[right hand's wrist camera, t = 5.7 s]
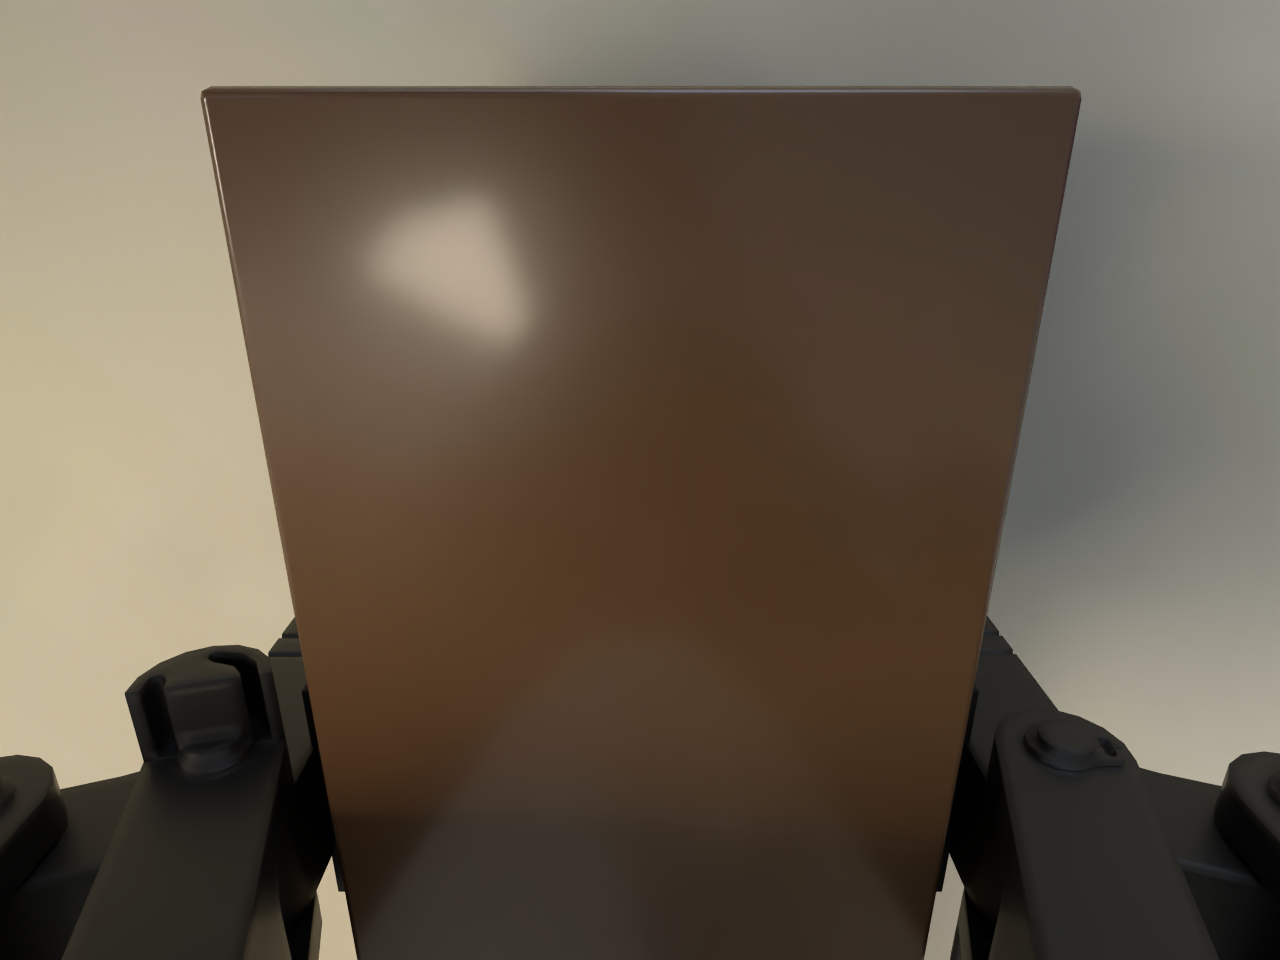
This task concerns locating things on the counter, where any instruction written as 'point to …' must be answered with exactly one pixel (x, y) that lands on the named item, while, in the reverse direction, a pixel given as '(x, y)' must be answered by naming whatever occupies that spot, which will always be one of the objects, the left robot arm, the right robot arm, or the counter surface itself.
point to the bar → (640, 491)
